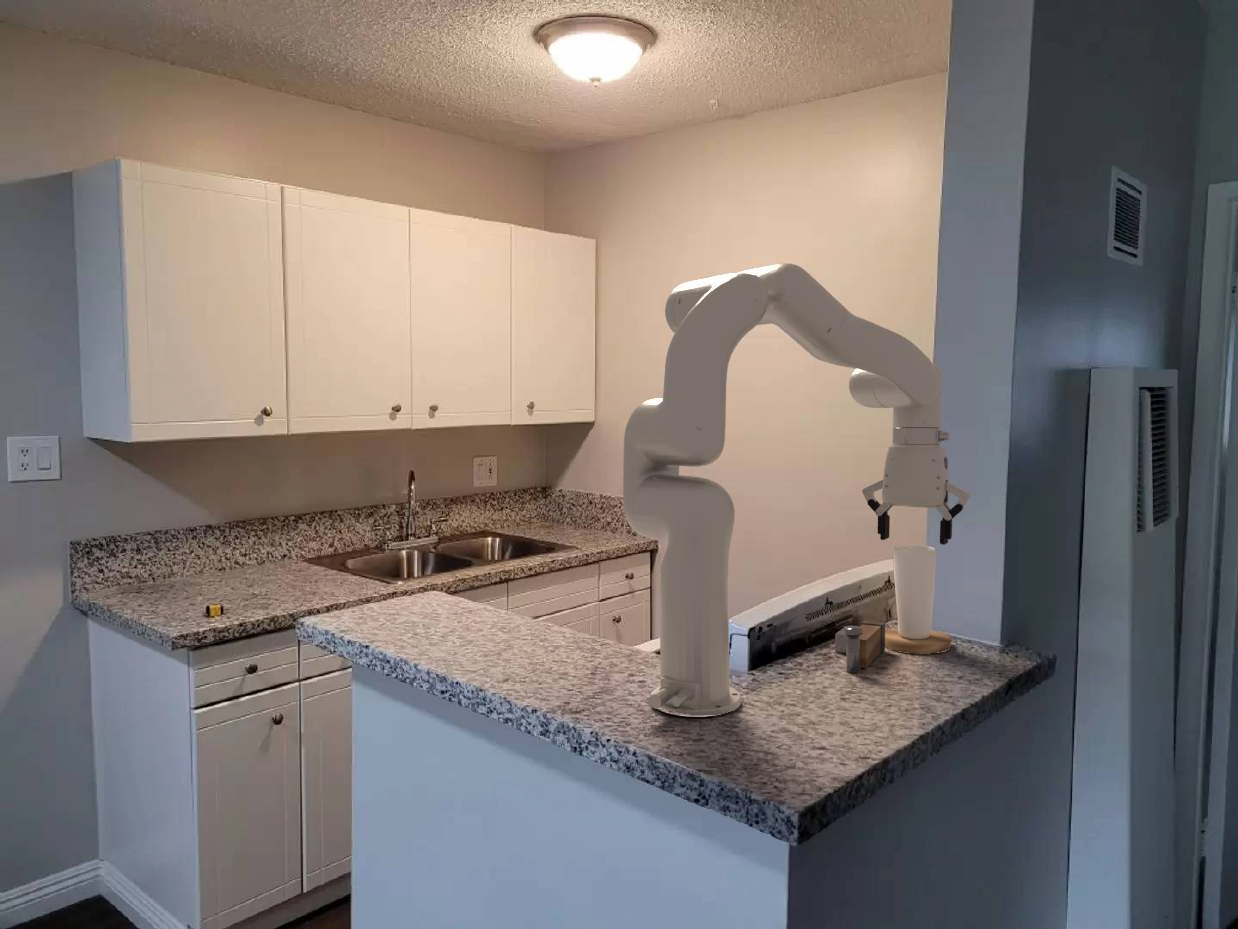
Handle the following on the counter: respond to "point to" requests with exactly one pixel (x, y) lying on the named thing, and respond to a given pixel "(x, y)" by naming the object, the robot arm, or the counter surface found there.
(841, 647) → the stop block
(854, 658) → the pivot pin
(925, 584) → the drinking glass
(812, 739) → the counter surface
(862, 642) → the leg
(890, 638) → the wooden coaster
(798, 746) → the counter surface
